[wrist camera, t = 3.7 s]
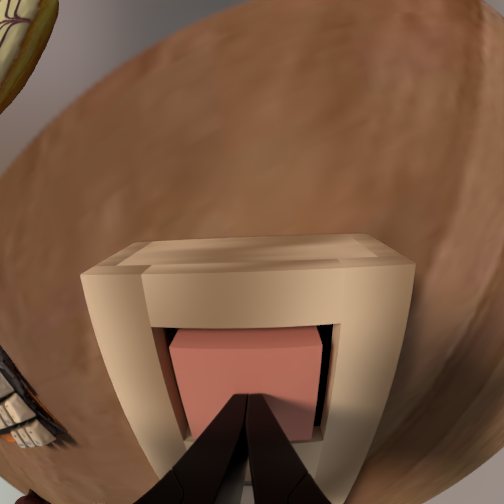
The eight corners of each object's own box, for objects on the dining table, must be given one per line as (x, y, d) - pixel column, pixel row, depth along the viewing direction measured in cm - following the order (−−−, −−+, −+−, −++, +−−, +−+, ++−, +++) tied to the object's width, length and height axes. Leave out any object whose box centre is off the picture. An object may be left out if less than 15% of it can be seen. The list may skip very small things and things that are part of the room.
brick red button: (304, 293, 10) (322, 345, 7) (301, 378, 11) (311, 439, 8) (196, 296, 10) (168, 347, 7) (208, 379, 12) (193, 439, 8)
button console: (366, 233, 10) (415, 263, 7) (314, 510, 16) (318, 544, 13) (135, 242, 11) (80, 274, 7) (211, 511, 17) (206, 545, 13)
